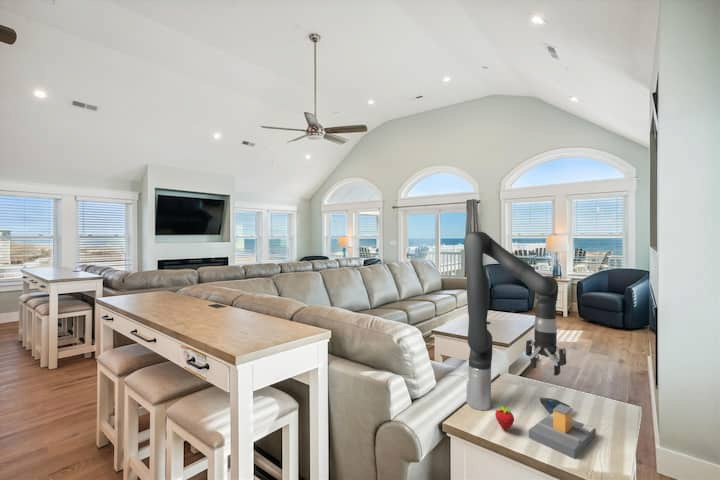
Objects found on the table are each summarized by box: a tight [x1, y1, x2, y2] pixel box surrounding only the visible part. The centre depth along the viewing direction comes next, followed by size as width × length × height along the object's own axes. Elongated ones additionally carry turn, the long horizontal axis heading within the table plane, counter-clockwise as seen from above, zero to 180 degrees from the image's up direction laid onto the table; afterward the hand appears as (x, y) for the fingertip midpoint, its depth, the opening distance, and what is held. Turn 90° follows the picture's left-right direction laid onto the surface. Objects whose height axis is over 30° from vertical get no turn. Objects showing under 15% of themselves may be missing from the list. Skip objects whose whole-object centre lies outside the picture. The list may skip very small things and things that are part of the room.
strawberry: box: [495, 404, 515, 432], centre depth 133 cm, size 6×8×10 cm
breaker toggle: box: [553, 404, 573, 433], centre depth 128 cm, size 4×6×7 cm
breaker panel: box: [528, 413, 597, 459], centre depth 128 cm, size 15×20×4 cm
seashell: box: [539, 397, 571, 414], centre depth 147 cm, size 6×9×10 cm
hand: (545, 371), depth 134 cm, fingers open, 8 cm apart
